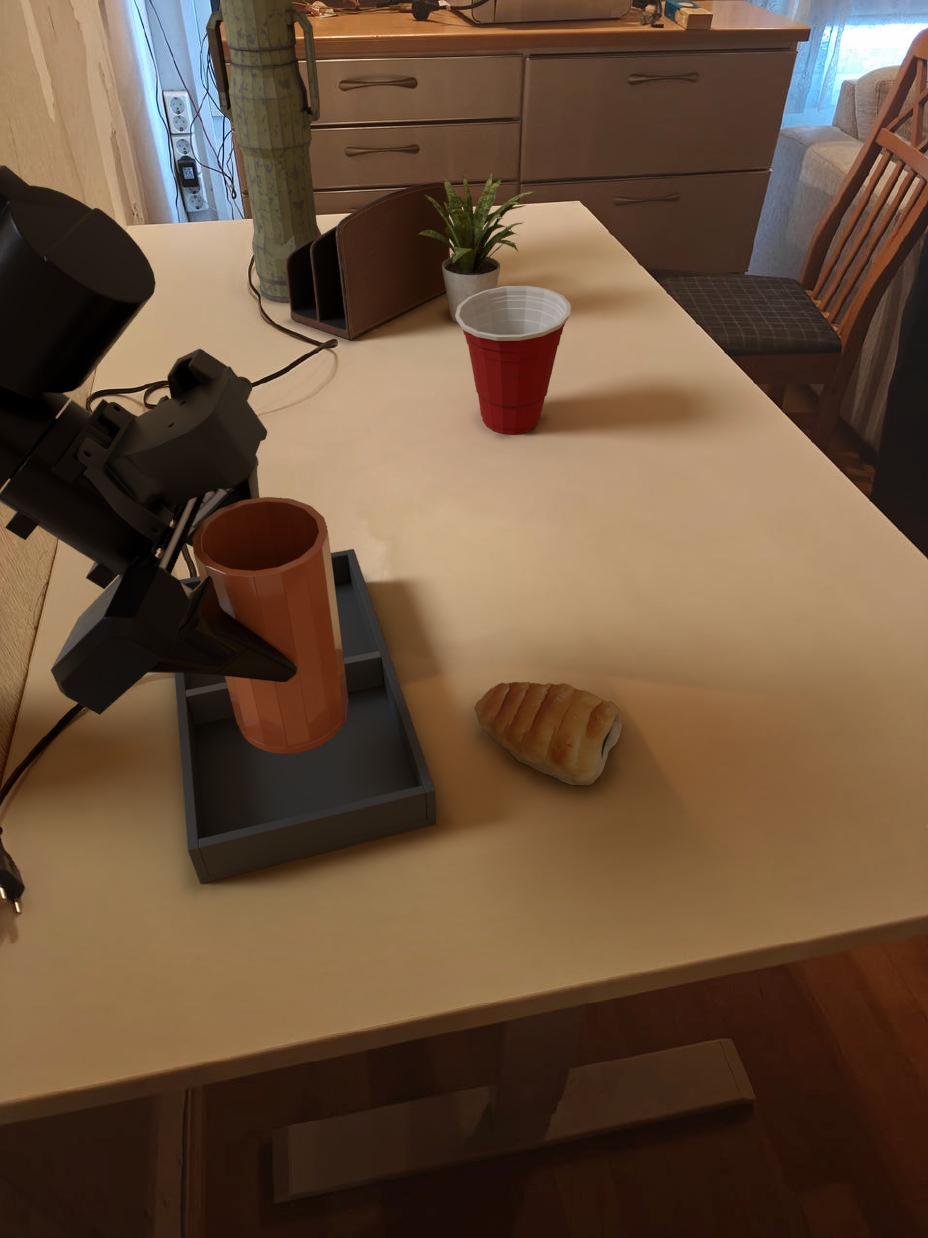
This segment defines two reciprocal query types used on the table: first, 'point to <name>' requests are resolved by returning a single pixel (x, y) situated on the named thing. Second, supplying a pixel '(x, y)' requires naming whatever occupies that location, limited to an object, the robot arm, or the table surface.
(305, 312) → the letter holder
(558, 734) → the pastry
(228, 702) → the tray
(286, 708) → the cup
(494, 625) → the table surface
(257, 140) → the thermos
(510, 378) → the plastic cup
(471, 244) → the house plant
